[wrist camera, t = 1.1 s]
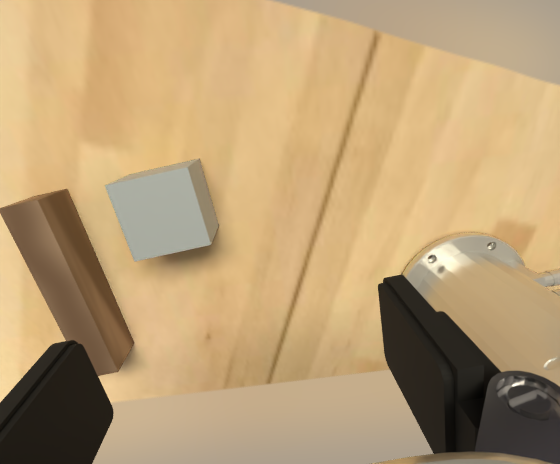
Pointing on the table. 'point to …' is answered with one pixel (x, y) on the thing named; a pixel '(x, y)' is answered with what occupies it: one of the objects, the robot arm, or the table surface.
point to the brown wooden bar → (70, 276)
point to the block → (164, 209)
